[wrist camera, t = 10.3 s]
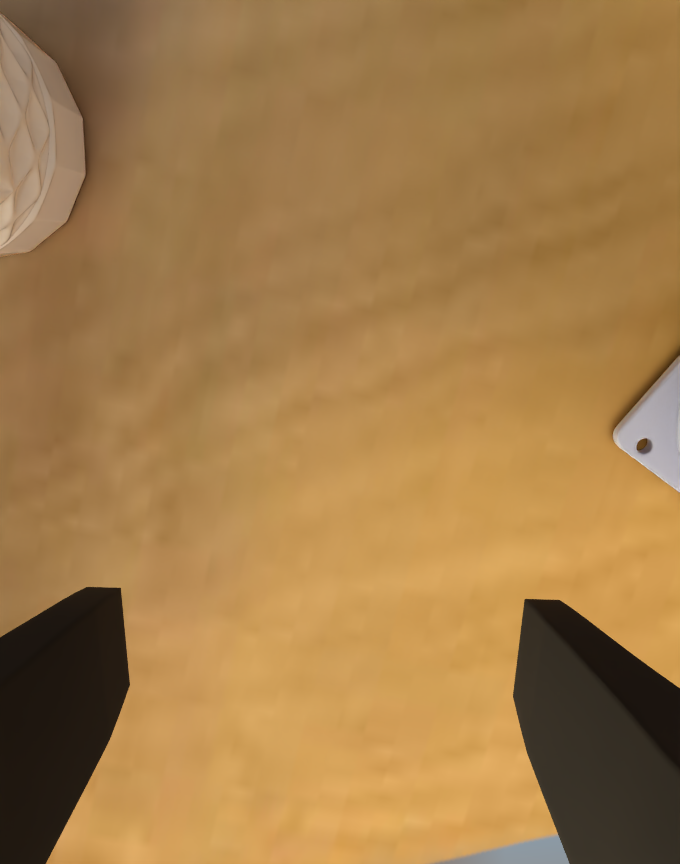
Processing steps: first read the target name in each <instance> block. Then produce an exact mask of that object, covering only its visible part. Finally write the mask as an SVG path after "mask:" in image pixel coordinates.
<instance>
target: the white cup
mask: <svg viewBox="0 0 680 864" xmlns="http://www.w3.org/2000/svg"><path fill="white" fill-rule="evenodd" d="M85 175H86V168H85V149H84V130H83V118H82V115H81V113H80V111H79V109H78V107H77V105H76V103H75V101H74V99H73V96H72V94H71V92H70V90H69V88H68V86H67V84H66V82H65V80H64V77H63V75H62V73H61V71H60V69H59V67H58V65H57V63H56V62H55V61H54V60H53V59H52V58H51V57H50V56H49V55H48V54H46V53H45V52H44V51H43V50H42V49H41V48H40V47H39V46H38V45H37V44H36V43H34V42H33V41H32V40H31V39H30V38H29V37H28V36H27V35H26V34H25V33H24V32H23V31H21V30H20V29H19V28H18V27H17V26H16V25H15V24H14V23H13V22H12V21H10V20H9V19H8V18H7V17H6V16H4V15H3V14H2V13H0V257H4V256H9V255H15V254H21V253H27V252H30V251H32V250H33V249H34V248H35V247H37V246H38V245H39V244H40V243H41V242H43V241H44V240H45V239H46V238H48V237H49V236H50V235H51V234H52V233H54V232H55V231H56V230H57V229H58V228H60V227H61V226H62V225H63V224H65V223H66V222H67V220H68V218H69V215H70V213H71V210H72V208H73V205H74V203H75V200H76V198H77V195H78V193H79V190H80V188H81V185H82V183H83V180H84V178H85Z"/></svg>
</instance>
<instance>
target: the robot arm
mask: <svg viewBox="0 0 680 864" xmlns="http://www.w3.org/2000/svg"><path fill="white" fill-rule="evenodd" d="M644 438H647V444H646V446H645V447H644V448H643V449H642V450H637V449H636V445H637V443H638V441H640V440H641V439H644ZM613 440H614V442H615V444H616V445H617V446H618V447H619V448H621V449H622V450H623V451H625V452H626V453H627V454H629V455H630V456H631V457H633V458H634V459H635V460H637V461H638V462H639V463H641V464H642V465H643V466H645V467H646V468H647V469H649V470H650V471H651V472H653V473H654V474H656V475H657V476H658V477H660V478H661V479H662V480H664V481H665V482H666V483H668V484H669V485H670V486H672V487H673V488H674V489H676V490H677V491H678V492H680V355H679V356H678V357H677V358H676V360H675V361H674V362H673V363H672V364H671V365H670V366H669V367H668V369H667V370H666V371H665V372H664V373H663V374H662V375H661V376H660V378H659V379H658V380H657V381H656V382H655V383H654V384H653V385H652V387H651V388H650V389H649V390H648V391H647V392H646V393H645V394H644V396H643V397H642V398H641V399H640V400H639V401H638V402H637V404H636V405H635V406H634V407H633V408H632V409H631V410H630V411H629V413H628V414H627V415H626V416H625V417H624V418H623V419H622V420H621V422H620V423H619V424H618V425H617V426H616V428H615V430H614V432H613ZM129 685H130V682H129V671H128V661H127V650H126V640H125V629H124V618H123V608H122V597H121V588H102V587H86V588H84V589H82V590H80V591H78V592H76V593H74V594H72V595H70V596H69V597H67V598H65V599H63V600H62V601H60V602H58V603H57V604H55V605H53V606H52V607H50V608H48V609H47V610H45V611H43V612H42V613H40V614H38V615H37V616H35V617H33V618H32V619H30V620H28V621H27V622H25V623H23V624H22V625H20V626H18V627H17V628H15V629H13V630H12V631H10V632H8V633H7V634H5V635H3V636H2V637H0V864H46V862H47V860H48V858H49V856H50V854H51V852H52V850H53V848H54V847H55V845H56V843H57V841H58V839H59V837H60V835H61V833H62V831H63V829H64V827H65V825H66V824H67V822H68V820H69V818H70V816H71V814H72V812H73V810H74V808H75V806H76V804H77V802H78V801H79V799H80V797H81V795H82V793H83V791H84V789H85V787H86V785H87V783H88V781H89V779H90V777H91V775H92V773H93V772H94V770H95V768H96V766H97V764H98V762H99V760H100V758H101V756H102V754H103V752H104V750H105V748H106V746H107V744H108V742H109V740H110V737H111V735H112V732H113V730H114V727H115V724H116V722H117V719H118V717H119V714H120V711H121V708H122V705H123V703H124V700H125V697H126V694H127V691H128V688H129ZM513 698H514V702H515V706H516V711H517V715H518V719H519V723H520V727H521V731H522V735H523V739H524V743H525V746H526V750H527V753H528V756H529V759H530V762H531V764H532V767H533V770H534V772H535V775H536V778H537V780H538V783H539V785H540V788H541V791H542V793H543V796H544V799H545V801H546V804H547V806H548V809H549V812H550V814H551V817H552V819H553V822H554V824H555V827H556V830H557V832H558V835H559V837H560V840H561V842H562V845H563V848H564V850H565V853H566V855H567V858H568V860H569V863H570V864H680V688H678V687H677V686H676V685H674V684H673V683H671V682H670V681H669V680H667V679H666V678H664V677H663V676H661V675H660V674H659V673H657V672H656V671H654V670H653V669H652V668H650V667H649V666H648V665H646V664H645V663H644V662H642V661H641V660H639V659H638V658H637V657H635V656H634V655H633V654H631V653H630V652H629V651H627V650H626V649H625V648H623V647H622V646H621V645H619V644H618V643H617V642H616V641H614V640H613V639H612V638H610V637H609V636H608V635H606V634H605V633H604V632H602V631H601V630H600V629H599V628H597V627H596V626H595V625H593V624H592V623H591V622H589V621H588V620H587V619H585V618H584V617H583V616H581V615H580V614H579V613H577V612H576V611H575V610H573V609H572V608H571V607H569V606H568V605H566V604H565V603H563V602H562V601H560V600H539V599H525V601H524V610H523V618H522V626H521V635H520V643H519V651H518V659H517V668H516V676H515V684H514V692H513Z"/></svg>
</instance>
